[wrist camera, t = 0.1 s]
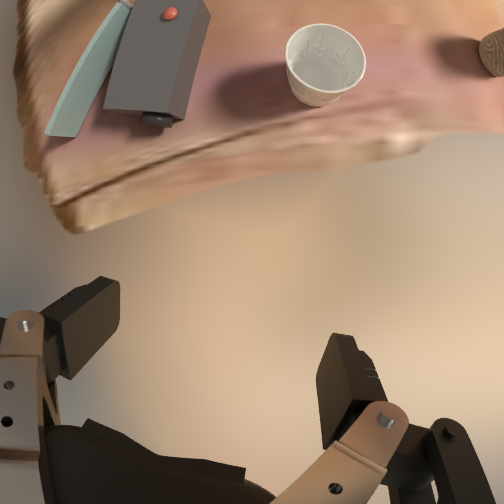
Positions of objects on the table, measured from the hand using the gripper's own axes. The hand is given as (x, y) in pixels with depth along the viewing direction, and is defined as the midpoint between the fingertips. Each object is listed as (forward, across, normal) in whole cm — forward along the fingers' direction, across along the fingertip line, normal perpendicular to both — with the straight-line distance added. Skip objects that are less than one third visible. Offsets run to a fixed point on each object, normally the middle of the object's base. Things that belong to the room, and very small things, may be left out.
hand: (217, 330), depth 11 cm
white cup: (+29, -3, -18) cm, 34 cm away
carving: (+29, -30, -34) cm, 54 cm away
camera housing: (+29, +17, -18) cm, 38 cm away
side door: (+29, +23, -26) cm, 45 cm away
